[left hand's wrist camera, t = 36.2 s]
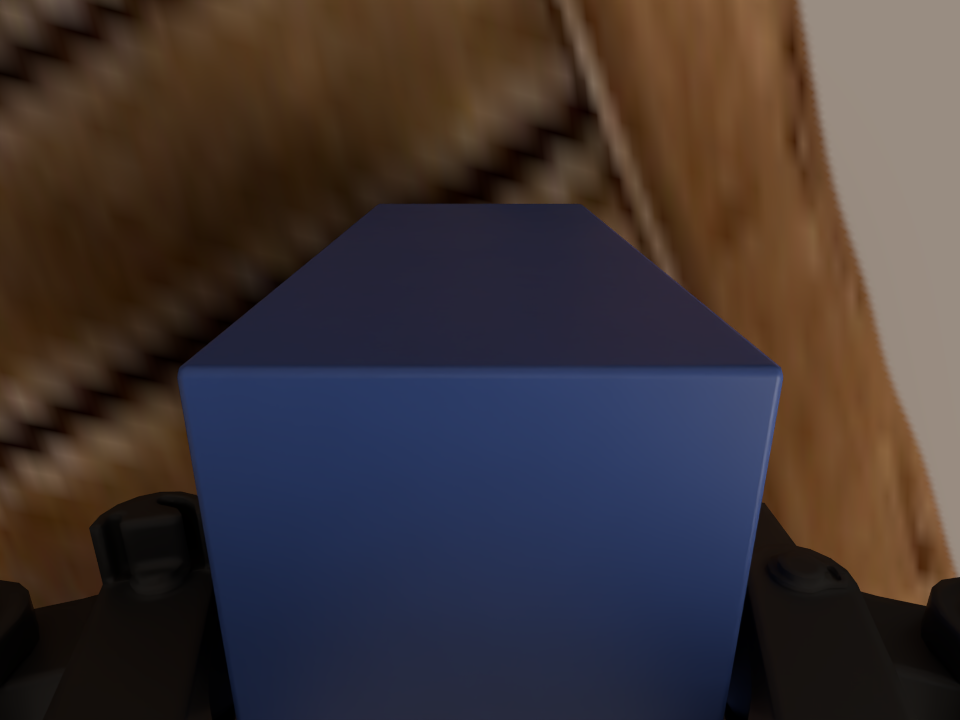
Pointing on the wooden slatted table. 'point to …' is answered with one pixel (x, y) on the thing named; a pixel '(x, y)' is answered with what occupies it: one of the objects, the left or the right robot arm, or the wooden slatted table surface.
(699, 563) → the block
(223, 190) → the wooden slatted table surface
